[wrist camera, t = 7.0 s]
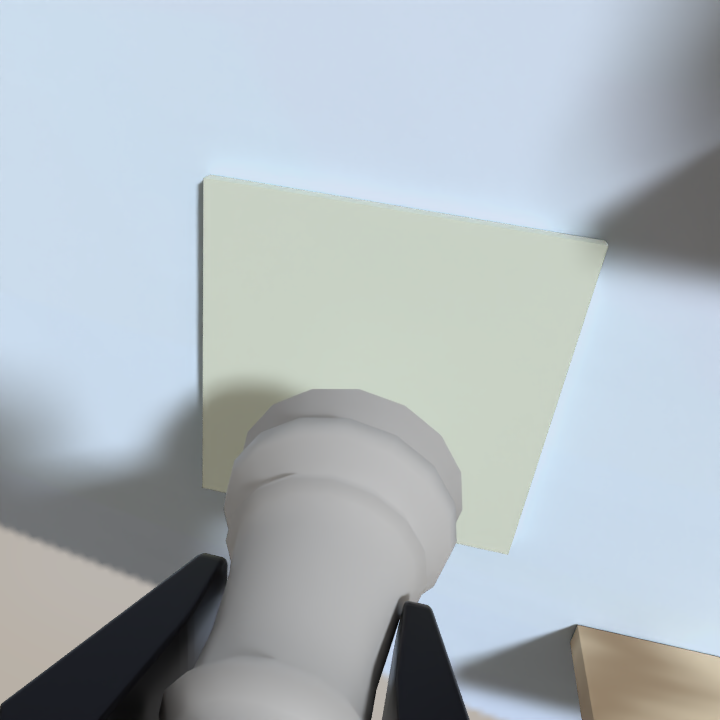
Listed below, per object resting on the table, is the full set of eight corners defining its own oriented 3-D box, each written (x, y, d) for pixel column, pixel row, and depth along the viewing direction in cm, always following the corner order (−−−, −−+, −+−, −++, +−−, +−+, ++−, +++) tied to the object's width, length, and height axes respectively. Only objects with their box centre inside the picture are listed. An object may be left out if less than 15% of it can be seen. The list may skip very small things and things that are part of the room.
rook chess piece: (289, 564, 14) (86, 1090, 7) (215, 395, 12) (-159, 865, 5) (486, 546, 13) (485, 1169, 6) (434, 354, 11) (337, 906, 4)
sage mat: (605, 240, 13) (608, 245, 13) (507, 544, 17) (508, 554, 17) (210, 174, 14) (203, 177, 14) (207, 479, 18) (202, 487, 18)
